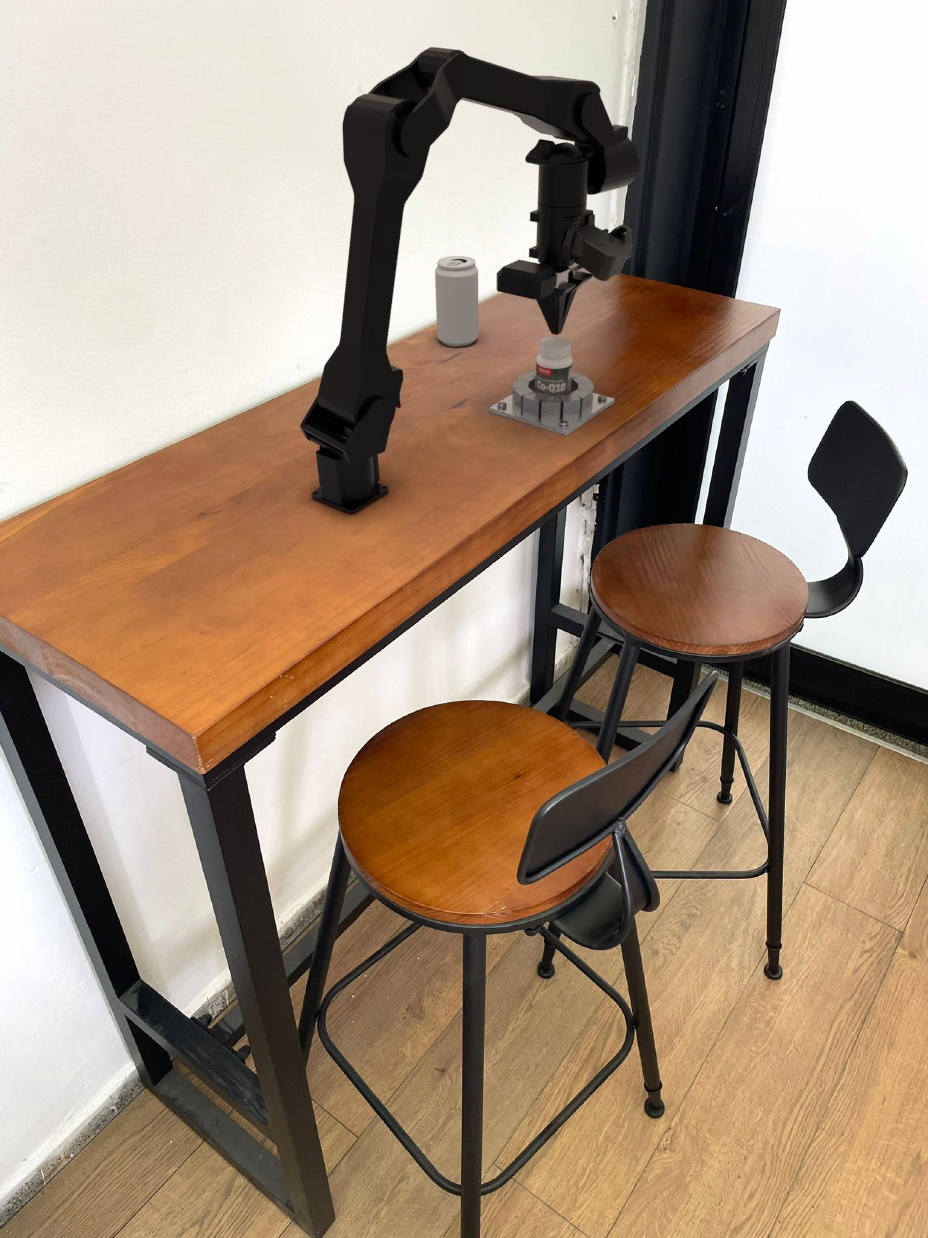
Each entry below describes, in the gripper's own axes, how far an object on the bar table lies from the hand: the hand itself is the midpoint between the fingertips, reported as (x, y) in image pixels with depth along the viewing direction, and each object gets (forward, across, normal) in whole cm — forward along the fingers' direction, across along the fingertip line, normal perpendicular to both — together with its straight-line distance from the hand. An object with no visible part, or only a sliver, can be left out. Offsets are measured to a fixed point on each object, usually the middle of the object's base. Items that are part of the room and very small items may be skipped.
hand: (556, 333), depth 117 cm
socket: (+10, 0, 0) cm, 10 cm away
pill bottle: (+10, 0, 0) cm, 10 cm away
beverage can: (+10, +12, +25) cm, 30 cm away
